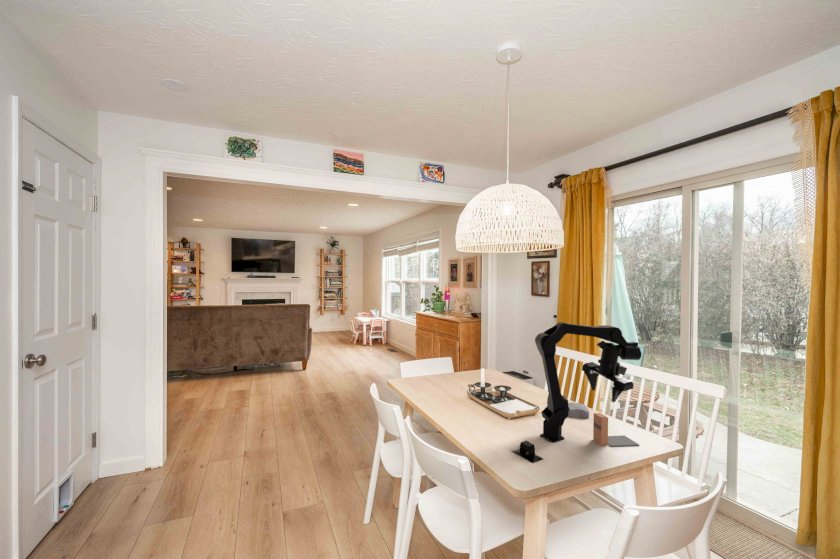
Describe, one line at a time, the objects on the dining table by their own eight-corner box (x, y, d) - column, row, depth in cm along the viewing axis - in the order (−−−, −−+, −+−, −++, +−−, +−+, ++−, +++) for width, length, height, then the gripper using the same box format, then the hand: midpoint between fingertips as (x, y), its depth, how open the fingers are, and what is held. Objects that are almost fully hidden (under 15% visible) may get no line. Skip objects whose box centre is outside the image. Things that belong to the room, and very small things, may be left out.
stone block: (567, 421, 163) (591, 419, 161) (565, 410, 163) (589, 407, 161) (562, 413, 175) (585, 410, 173) (560, 402, 175) (583, 400, 173)
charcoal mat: (611, 446, 134) (611, 445, 134) (597, 437, 142) (597, 436, 142) (639, 445, 136) (639, 444, 136) (624, 436, 143) (624, 435, 143)
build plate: (549, 461, 123) (549, 448, 123) (533, 467, 120) (534, 453, 120) (520, 447, 134) (521, 434, 134) (506, 451, 130) (506, 438, 130)
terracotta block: (600, 445, 135) (601, 417, 135) (592, 439, 140) (592, 413, 140) (607, 445, 136) (608, 417, 136) (599, 439, 141) (599, 412, 141)
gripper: (646, 365, 137) (639, 403, 141) (603, 346, 154) (597, 381, 157) (626, 370, 132) (619, 409, 136) (583, 350, 149) (578, 386, 152)
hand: (603, 395), depth 145 cm, fingers open, 9 cm apart
